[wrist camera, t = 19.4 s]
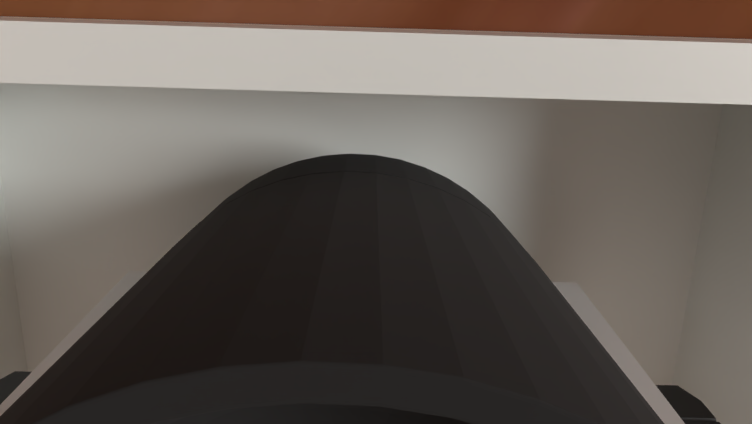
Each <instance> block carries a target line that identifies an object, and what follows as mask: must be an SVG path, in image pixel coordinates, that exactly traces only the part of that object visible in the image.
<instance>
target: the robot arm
mask: <svg viewBox="0 0 752 424" xmlns="http://www.w3.org/2000/svg"><path fill="white" fill-rule="evenodd" d="M147 272H148V271H129V272H128V273H127V274H126V275H125V276H124V277H123V278H122V279H121V280H120V281H119V282H118V283H117V284H116V285H115V286H114V287H113V288H112V290H111V291H110V292H109V293H108V294H107V295H106V296H105V297H104V298H103V299H102V300H101V301H100V302H99V303H98V304H97V305H96V306H95V307H94V308H93V309H92V310H91V311H90V312H89V313H88V314H87V315H86V316H85V317H84V319H83V320H82V321H81V322H80V323H79V324H78V325H77V326H76V327H75V328H74V329H73V330H72V331H71V332H70V333H69V334H68V335H67V336H66V337H65V338H64V339H63V340H62V341H61V342H60V343H59V344H58V345H57V346H56V348H55V349H54V350H53V351H52V352H51V353H50V354H49V355H48V356H47V357H46V358H45V359H44V360H43V361H42V362H41V363H40V364H39V365H38V366H37V367H36V368H35V369H34V370H33V371H32V372H26V371H14V372H13V373H11V374H9V375H7V376H5V377H4V378H2V379H0V416H1V415H2V414H3V413H4V412H5V411H6V410H7V409H8V408H9V407H10V406H11V405H12V404H13V403H14V402H15V401H16V400H17V399H18V398H19V397H20V396H21V395H22V394H23V393H24V392H25V391H26V390H27V389H28V388H29V387H30V386H32V385H33V384H34V383H35V382H36V381H37V380H38V379H39V378H40V377H41V376H42V375H43V374H44V373H45V372H46V371H47V370H48V369H49V368H50V367H51V366H52V365H53V364H54V363H55V362H56V361H57V360H58V359H59V358H60V357H61V356H62V355H63V354H64V353H65V352H66V351H67V350H68V349H69V348H70V347H71V346H72V345H73V344H74V343H75V342H76V341H77V340H78V339H79V338H80V337H81V336H83V335H84V334H85V333H86V332H87V331H88V330H89V329H90V328H91V327H92V326H93V325H94V324H95V323H96V322H97V321H98V320H99V319H100V318H101V317H102V316H103V315H104V314H105V313H106V312H107V311H108V310H109V309H110V308H111V307H112V306H113V305H114V304H115V303H116V302H117V301H118V300H119V299H120V298H121V297H122V296H123V295H124V294H125V293H126V292H127V291H128V290H129V289H130V288H131V287H132V286H134V285H135V284H136V283H137V282H138V281H139V280H140V279H141V278H142V277H143V276H144V275H145V274H146V273H147ZM552 283H553V284H554V285H555V286H556V288H557V289H558V290H559V292H560V293H561V294H562V295H563V297H564V298H565V299H566V300H567V302H568V303H569V304H570V305H571V307H572V308H573V309H574V310H575V312H576V313H577V314H578V315H579V317H580V318H581V319H582V320H583V322H584V323H585V324H586V325H587V327H588V328H589V329H590V330H591V332H592V333H593V334H594V336H595V337H596V338H597V339H598V341H599V342H600V343H601V344H602V346H603V347H604V348H605V349H606V351H607V352H608V353H609V354H610V356H611V357H612V358H613V359H614V361H615V362H616V363H617V365H618V366H619V367H620V368H621V370H622V371H623V372H624V373H625V375H626V376H627V377H628V378H629V380H630V381H631V382H632V383H633V385H634V386H635V387H636V388H637V390H638V391H639V392H640V394H641V395H642V396H643V397H644V399H645V400H646V401H647V402H648V404H649V405H650V406H651V407H652V409H653V410H654V411H655V412H656V414H657V415H658V416H659V417H660V419H661V420H662V421H663V423H664V424H721V423H720V422H716V418H715V416H714V415H713V414H712V413H711V412H710V411H709V409H708V408H707V407H706V406H705V405H704V404H703V402H702V401H701V400H699V399H698V398H696V397H695V396H693V395H691V394H690V393H688V392H687V391H685V390H684V389H682V388H681V387H679V386H678V385H655V384H654V383H653V381H652V380H651V379H650V377H649V376H648V375H647V373H646V372H645V371H644V370H643V368H642V367H641V366H640V364H639V363H638V362H637V360H636V359H635V358H634V356H633V355H632V354H631V353H630V351H629V350H628V349H627V347H626V346H625V345H624V343H623V342H622V341H621V339H620V338H619V337H618V336H617V334H616V333H615V332H614V330H613V329H612V328H611V326H610V325H609V324H608V323H607V321H606V320H605V319H604V317H603V316H602V315H601V313H600V312H599V311H598V309H597V308H596V307H595V306H594V304H593V303H592V302H591V300H590V299H589V298H588V296H587V295H586V294H585V293H584V291H583V290H582V289H581V287H580V286H579V285H578V283H574V282H552Z"/></svg>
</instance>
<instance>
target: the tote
mask: <svg viewBox="0 0 752 424" xmlns="http://www.w3.org/2000/svg"><path fill="white" fill-rule="evenodd" d="M337 154H368V155H379V156H384V157H390V158H395V159H401V160H404V161H407V162H410V163H413V164H416V165H419V166H423V167H425V168H427V169H430V170H432V171H434V172H436V173H438V174H440V175H442V176H445V177H447V178H449V179H450V180H452V181H453V182H455V183H456V184H458V185H459V186H461V187H463V188H464V189H466V190H467V191H469V192H470V193H471V194H472V195H474V196H475V197H476V198H477V199H478V200H480V201H481V202H482V203H483V204H484V205H485V206H487V207H488V208H489V209H490V210H491V211H492V212H493V213H494V214H495V215H496V217H497V218H498V219H499V220H500V221H501V222H502V223H503V225H504V226H505V227H506V228H507V229H508V230H509V231H510V232H511V234H512V235H513V236H514V237H515V238H516V239H517V241H518V242H519V243H520V244H521V245H522V247H523V248H524V249H525V250H526V251H527V252H528V253H529V254H530V256H531V257H532V258H533V259H534V260H535V261H536V263H537V264H538V265H539V266H540V268H541V269H542V270H543V271H544V273H545V274H546V275H547V276H548V278H549V279H550V280H551V281H552V282H574V283H578V285H579V286H580V287H581V289H582V290H583V291H584V293H585V294H586V295H587V296H588V298H589V299H590V300H591V302H592V303H593V304H594V306H595V307H596V308H597V309H598V311H599V312H600V313H601V315H602V316H603V317H604V319H605V320H606V321H607V323H608V324H609V325H610V326H611V328H612V329H613V330H614V332H615V333H616V334H617V336H618V337H619V338H620V339H621V341H622V342H623V343H624V345H625V346H626V347H627V349H628V350H629V351H630V353H631V354H632V355H633V356H634V358H635V359H636V360H637V362H638V363H639V364H640V366H641V367H642V368H643V370H644V371H645V372H646V373H647V375H648V376H649V377H650V379H651V380H652V381H653V383H654V384H655V385H678V386H679V387H681V388H682V389H684V390H685V391H687V392H688V393H690V394H691V395H693V396H695V397H696V398H698V399H699V400H701V401H702V402H703V404H704V405H705V406H706V407H707V408H708V409H709V411H710V412H711V413H712V414H713V415H714V416H715V418H716V422H720V423H721V424H752V39H731V38H699V37H666V36H633V35H600V34H568V33H535V32H502V31H469V30H437V29H404V28H371V27H338V26H306V25H273V24H240V23H207V22H175V21H142V20H109V19H76V18H44V17H11V16H0V379H2V378H4V377H5V376H7V375H9V374H11V373H13V372H14V371H26V372H32V371H33V370H34V369H35V368H36V367H37V366H38V365H39V364H40V363H41V362H42V361H43V360H44V359H45V358H46V357H47V356H48V355H49V354H50V353H51V352H52V351H53V350H54V349H55V348H56V346H57V345H58V344H59V343H60V342H61V341H62V340H63V339H64V338H65V337H66V336H67V335H68V334H69V333H70V332H71V331H72V330H73V329H74V328H75V327H76V326H77V325H78V324H79V323H80V322H81V321H82V320H83V319H84V317H85V316H86V315H87V314H88V313H89V312H90V311H91V310H92V309H93V308H94V307H95V306H96V305H97V304H98V303H99V302H100V301H101V300H102V299H103V298H104V297H105V296H106V295H107V294H108V293H109V292H110V291H111V290H112V288H113V287H114V286H115V285H116V284H117V283H118V282H119V281H120V280H121V279H122V278H123V277H124V276H125V275H126V274H127V273H128V272H129V271H149V270H150V269H151V268H152V267H153V266H154V265H155V264H156V263H157V262H158V261H159V260H160V259H161V258H162V257H163V256H164V255H165V254H166V253H167V252H168V251H169V250H170V249H171V248H172V247H173V246H174V245H175V244H176V243H178V242H179V241H180V240H181V239H182V238H183V237H184V236H185V235H186V234H187V233H188V232H189V231H190V230H192V229H193V228H194V227H195V226H196V225H197V224H198V223H199V222H201V221H202V220H203V219H204V218H205V217H206V216H207V215H208V214H210V213H211V212H212V211H213V210H214V209H215V208H216V207H217V206H218V205H219V204H221V203H222V202H223V201H224V200H225V199H226V198H227V197H229V196H230V195H232V194H233V193H235V192H236V191H237V190H239V189H240V188H242V187H243V186H245V185H246V184H248V183H249V182H250V181H252V180H254V179H256V178H258V177H260V176H262V175H264V174H266V173H268V172H270V171H272V170H274V169H277V168H279V167H282V166H285V165H288V164H291V163H293V162H296V161H300V160H305V159H310V158H314V157H319V156H324V155H337Z"/></svg>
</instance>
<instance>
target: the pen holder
mask: <svg viewBox="0 0 752 424" xmlns="http://www.w3.org/2000/svg"><path fill="white" fill-rule="evenodd" d="M0 424H664V423H663V421H662V420H661V419H660V417H659V416H658V415H657V414H656V412H655V411H654V410H653V409H652V407H651V406H650V405H649V404H648V402H647V401H646V400H645V399H644V397H643V396H642V395H641V394H640V392H639V391H638V390H637V388H636V387H635V386H634V385H633V383H632V382H631V381H630V380H629V378H628V377H627V376H626V375H625V373H624V372H623V371H622V370H621V368H620V367H619V366H618V365H617V363H616V362H615V361H614V359H613V358H612V357H611V356H610V354H609V353H608V352H607V351H606V349H605V348H604V347H603V346H602V344H601V343H600V342H599V341H598V339H597V338H596V337H595V336H594V334H593V333H592V332H591V330H590V329H589V328H588V327H587V325H586V324H585V323H584V322H583V320H582V319H581V318H580V317H579V315H578V314H577V313H576V312H575V310H574V309H573V308H572V307H571V305H570V304H569V303H568V302H567V300H566V299H565V298H564V297H563V295H562V294H561V293H560V292H559V290H558V289H557V288H556V286H555V285H554V284H553V283H552V281H551V280H550V279H549V278H548V276H547V275H546V274H545V273H544V271H543V270H542V269H541V268H540V266H539V265H538V264H537V263H536V261H535V260H534V259H533V258H532V257H531V256H530V254H529V253H528V252H527V251H526V250H525V249H524V248H523V247H522V245H521V244H520V243H519V242H518V241H517V239H516V238H515V237H514V236H513V235H512V234H511V232H510V231H509V230H508V229H507V228H506V227H505V226H504V225H503V223H502V222H501V221H500V220H499V219H498V218H497V217H496V215H495V214H494V213H493V212H492V211H491V210H490V209H489V208H488V207H487V206H485V205H484V204H483V203H482V202H481V201H480V200H478V199H477V198H476V197H475V196H474V195H472V194H471V193H470V192H469V191H467V190H466V189H464V188H463V187H461V186H459V185H458V184H456V183H455V182H453V181H452V180H450V179H449V178H447V177H445V176H442V175H440V174H438V173H436V172H434V171H432V170H430V169H427V168H425V167H423V166H419V165H416V164H413V163H410V162H407V161H404V160H401V159H395V158H390V157H384V156H379V155H368V154H337V155H324V156H319V157H314V158H310V159H305V160H300V161H296V162H293V163H291V164H288V165H285V166H282V167H279V168H277V169H274V170H272V171H270V172H268V173H266V174H264V175H262V176H260V177H258V178H256V179H254V180H252V181H250V182H249V183H248V184H246V185H245V186H243V187H242V188H240V189H239V190H237V191H236V192H235V193H233V194H232V195H230V196H229V197H227V198H226V199H225V200H224V201H223V202H222V203H221V204H219V205H218V206H217V207H216V208H215V209H214V210H213V211H212V212H211V213H210V214H208V215H207V216H206V217H205V218H204V219H203V220H202V221H201V222H199V223H198V224H197V225H196V226H195V227H194V228H193V229H192V230H190V231H189V232H188V233H187V234H186V235H185V236H184V237H183V238H182V239H181V240H180V241H179V242H178V243H176V244H175V245H174V246H173V247H172V248H171V249H170V250H169V251H168V252H167V253H166V254H165V255H164V256H163V257H162V258H161V259H160V260H159V261H158V262H157V263H156V264H155V265H154V266H153V267H152V268H151V269H150V270H149V271H148V272H147V273H146V274H145V275H144V276H143V277H142V278H141V279H140V280H139V281H138V282H137V283H136V284H135V285H134V286H132V287H131V288H130V289H129V290H128V291H127V292H126V293H125V294H124V295H123V296H122V297H121V298H120V299H119V300H118V301H117V302H116V303H115V304H114V305H113V306H112V307H111V308H110V309H109V310H108V311H107V312H106V313H105V314H104V315H103V316H102V317H101V318H100V319H99V320H98V321H97V322H96V323H95V324H94V325H93V326H92V327H91V328H90V329H89V330H88V331H87V332H86V333H85V334H84V335H83V336H81V337H80V338H79V339H78V340H77V341H76V342H75V343H74V344H73V345H72V346H71V347H70V348H69V349H68V350H67V351H66V352H65V353H64V354H63V355H62V356H61V357H60V358H59V359H58V360H57V361H56V362H55V363H54V364H53V365H52V366H51V367H50V368H49V369H48V370H47V371H46V372H45V373H44V374H43V375H42V376H41V377H40V378H39V379H38V380H37V381H36V382H35V383H34V384H33V385H32V386H30V387H29V388H28V389H27V390H26V391H25V392H24V393H23V394H22V395H21V396H20V397H19V398H18V399H17V400H16V401H15V402H14V403H13V404H12V405H11V406H10V407H9V408H8V409H7V410H6V411H5V412H4V413H3V414H2V415H1V416H0Z"/></svg>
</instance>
